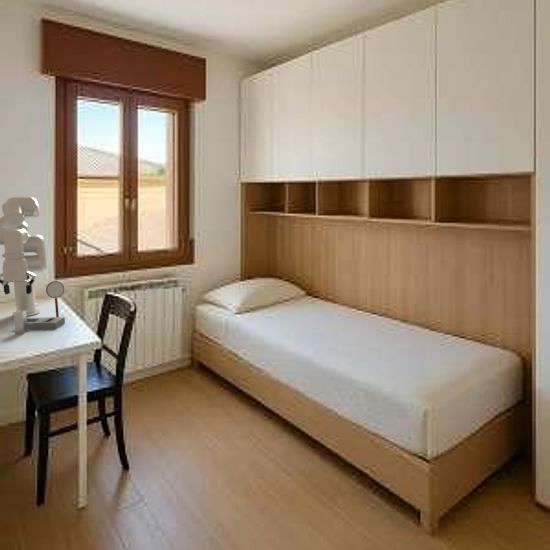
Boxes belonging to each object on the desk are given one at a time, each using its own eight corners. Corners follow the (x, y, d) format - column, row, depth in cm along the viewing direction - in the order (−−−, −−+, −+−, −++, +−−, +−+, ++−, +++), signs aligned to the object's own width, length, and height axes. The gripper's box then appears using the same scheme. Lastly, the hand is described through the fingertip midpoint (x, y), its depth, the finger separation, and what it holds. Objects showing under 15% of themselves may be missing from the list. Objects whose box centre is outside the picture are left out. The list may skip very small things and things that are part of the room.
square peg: (19, 331, 227) (17, 310, 225) (28, 331, 227) (26, 310, 225) (15, 333, 223) (13, 312, 221) (24, 333, 223) (22, 312, 221)
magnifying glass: (49, 321, 246) (45, 282, 242) (48, 320, 247) (45, 281, 244) (67, 318, 251) (64, 280, 248) (66, 317, 252) (63, 280, 249)
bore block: (26, 323, 241) (25, 317, 240) (65, 322, 242) (64, 317, 241) (15, 329, 230) (14, 323, 230) (56, 328, 231) (55, 322, 230)
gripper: (-10, 257, 215) (-6, 295, 218) (30, 257, 216) (33, 294, 219) (-1, 256, 223) (3, 292, 225) (37, 255, 224) (41, 291, 226)
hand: (18, 293), depth 222 cm, fingers open, 9 cm apart
